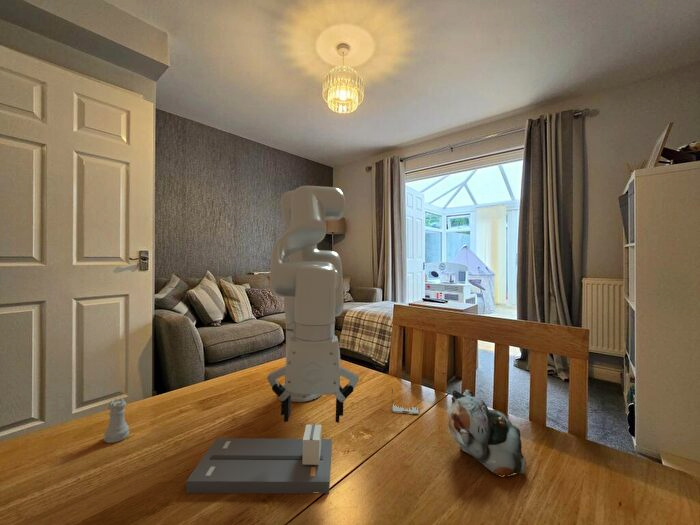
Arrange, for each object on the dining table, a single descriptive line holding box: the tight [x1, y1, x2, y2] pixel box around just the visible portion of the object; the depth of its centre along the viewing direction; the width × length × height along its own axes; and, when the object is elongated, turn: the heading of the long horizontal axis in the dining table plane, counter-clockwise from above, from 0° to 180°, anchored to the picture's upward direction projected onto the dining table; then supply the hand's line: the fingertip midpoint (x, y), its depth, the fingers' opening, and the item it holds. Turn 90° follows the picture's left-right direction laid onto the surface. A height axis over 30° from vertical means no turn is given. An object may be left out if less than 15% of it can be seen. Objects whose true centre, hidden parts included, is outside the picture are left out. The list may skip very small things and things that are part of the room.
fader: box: [302, 423, 323, 465], centre depth 57 cm, size 3×5×5 cm, turn 1°
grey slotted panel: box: [185, 437, 333, 494], centre depth 57 cm, size 24×12×2 cm, turn 91°
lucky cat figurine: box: [447, 389, 527, 476], centre depth 62 cm, size 15×12×14 cm
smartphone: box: [390, 404, 421, 414], centre depth 85 cm, size 7×1×15 cm
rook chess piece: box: [103, 398, 131, 444], centre depth 65 cm, size 4×4×8 cm
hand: (312, 418), depth 58 cm, fingers open, 9 cm apart
